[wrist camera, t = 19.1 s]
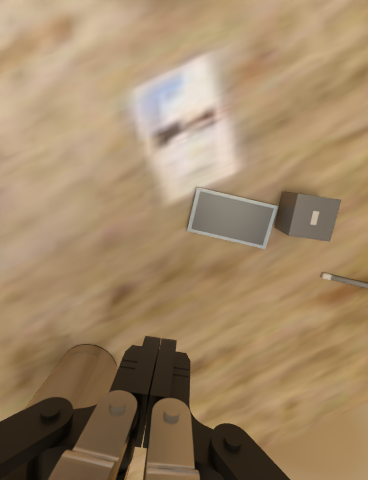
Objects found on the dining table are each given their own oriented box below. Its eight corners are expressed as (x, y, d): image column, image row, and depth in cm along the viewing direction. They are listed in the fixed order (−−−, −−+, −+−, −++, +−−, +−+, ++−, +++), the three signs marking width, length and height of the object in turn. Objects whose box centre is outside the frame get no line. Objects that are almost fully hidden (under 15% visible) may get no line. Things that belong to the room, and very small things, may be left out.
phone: (261, 245, 40) (265, 249, 37) (187, 228, 39) (187, 230, 37) (273, 204, 38) (278, 206, 36) (197, 186, 38) (197, 187, 36)
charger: (315, 233, 38) (337, 242, 33) (274, 227, 39) (288, 235, 33) (324, 197, 37) (348, 200, 31) (282, 191, 37) (298, 193, 32)
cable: (407, 292, 40) (411, 294, 39) (405, 296, 40) (409, 298, 39) (322, 272, 40) (324, 273, 39) (320, 276, 40) (322, 278, 39)
